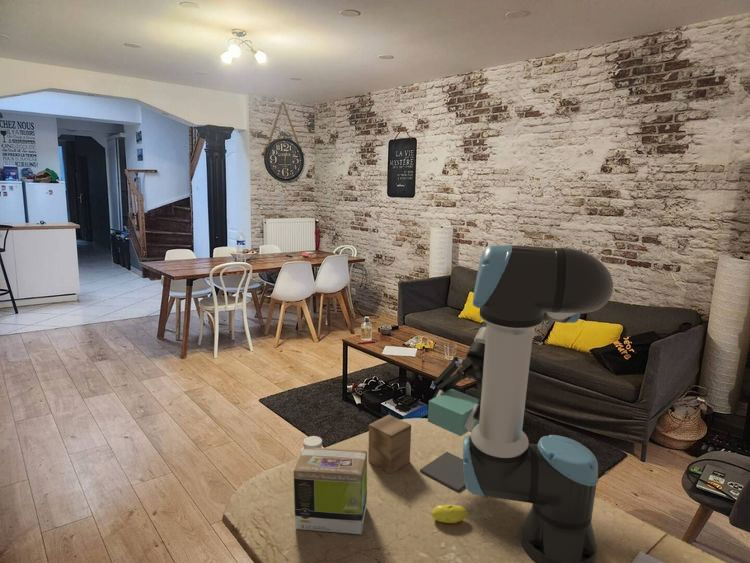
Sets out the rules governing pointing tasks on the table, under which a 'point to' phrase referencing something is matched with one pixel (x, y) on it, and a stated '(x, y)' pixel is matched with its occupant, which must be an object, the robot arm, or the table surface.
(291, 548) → the table surface
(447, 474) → the rubber mat
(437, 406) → the teal square block
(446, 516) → the yellow oblong rounded piece
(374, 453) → the walnut box
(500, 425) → the robot arm
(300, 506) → the tea box
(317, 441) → the pill bottle
